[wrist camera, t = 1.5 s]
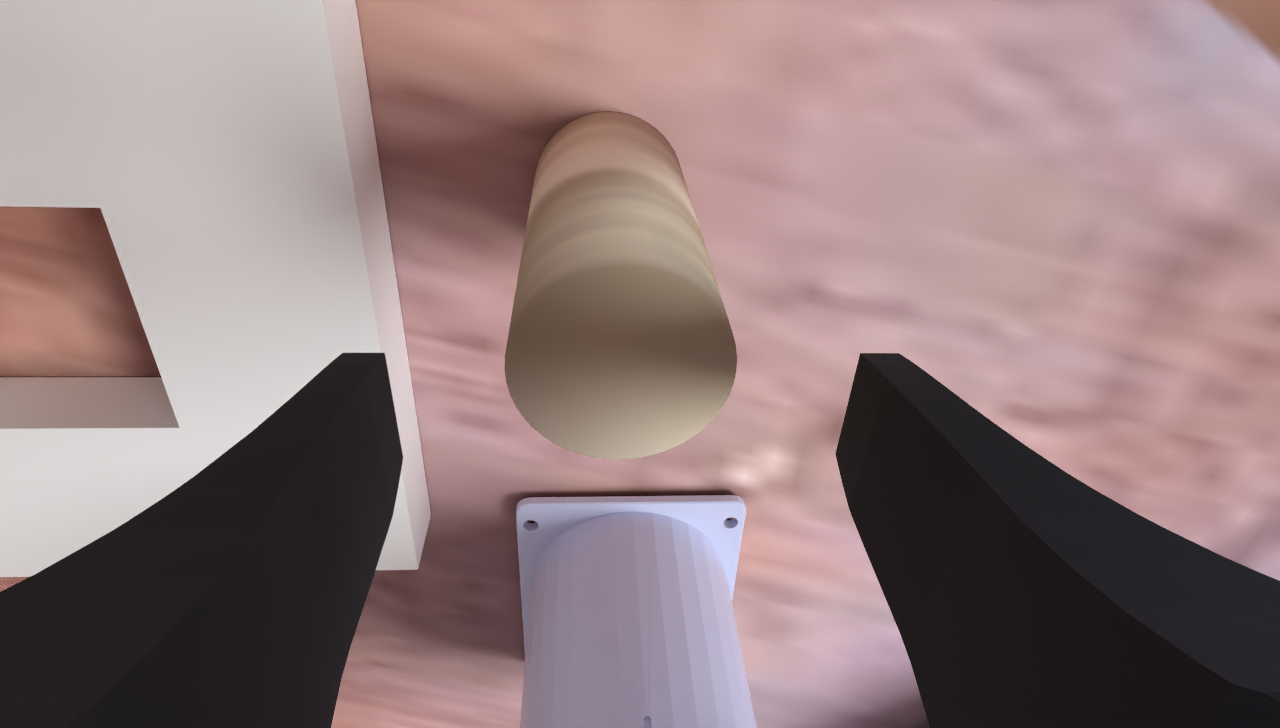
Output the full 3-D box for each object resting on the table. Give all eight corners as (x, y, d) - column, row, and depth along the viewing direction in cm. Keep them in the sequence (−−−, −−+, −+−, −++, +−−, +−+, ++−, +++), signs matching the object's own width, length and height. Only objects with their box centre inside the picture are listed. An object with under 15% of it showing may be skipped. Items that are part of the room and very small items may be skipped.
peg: (677, 255, 22) (724, 458, 14) (536, 253, 22) (510, 460, 14) (687, 113, 20) (749, 266, 12) (531, 109, 20) (497, 263, 12)
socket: (430, 514, 27) (417, 569, 25) (-119, 521, 26) (-182, 580, 23) (343, -78, 17) (310, -70, 15) (-554, -115, 16) (-728, -112, 14)
